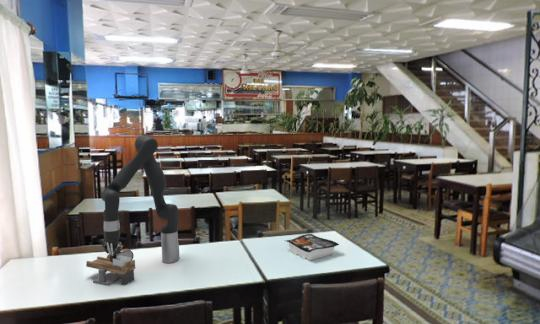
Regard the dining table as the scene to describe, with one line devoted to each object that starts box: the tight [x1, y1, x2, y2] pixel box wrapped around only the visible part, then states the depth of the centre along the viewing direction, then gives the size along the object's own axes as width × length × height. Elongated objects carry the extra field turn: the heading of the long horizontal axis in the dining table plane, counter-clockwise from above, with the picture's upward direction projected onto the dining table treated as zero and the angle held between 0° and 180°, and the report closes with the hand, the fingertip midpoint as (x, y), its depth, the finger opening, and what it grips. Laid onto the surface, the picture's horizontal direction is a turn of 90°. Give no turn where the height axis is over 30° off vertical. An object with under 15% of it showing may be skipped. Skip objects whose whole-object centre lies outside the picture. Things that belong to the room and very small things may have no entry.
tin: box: [106, 248, 135, 261], centre depth 214 cm, size 15×3×8 cm, turn 135°
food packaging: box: [285, 233, 340, 262], centre depth 230 cm, size 25×8×23 cm
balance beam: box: [85, 256, 136, 275], centre depth 195 cm, size 8×25×6 cm, turn 67°
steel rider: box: [113, 255, 131, 268], centre depth 192 cm, size 5×7×5 cm
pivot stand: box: [92, 269, 135, 287], centre depth 194 cm, size 14×18×7 cm
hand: (113, 261), depth 194 cm, fingers closed
